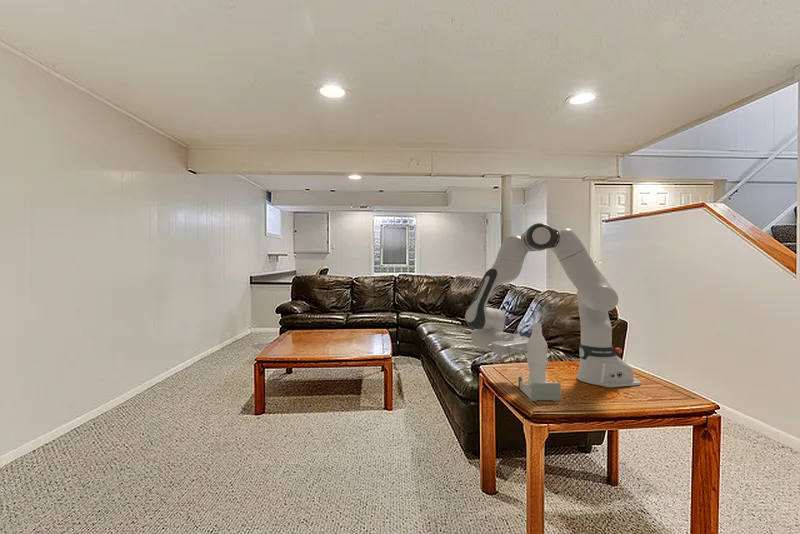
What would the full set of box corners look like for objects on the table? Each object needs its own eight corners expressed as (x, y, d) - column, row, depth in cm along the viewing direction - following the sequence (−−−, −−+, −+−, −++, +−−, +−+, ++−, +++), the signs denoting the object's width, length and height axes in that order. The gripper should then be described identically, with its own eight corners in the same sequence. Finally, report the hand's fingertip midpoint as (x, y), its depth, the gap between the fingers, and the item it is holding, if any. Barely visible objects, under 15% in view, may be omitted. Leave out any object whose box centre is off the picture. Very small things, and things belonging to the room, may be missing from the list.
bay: (544, 387, 141) (544, 371, 141) (560, 400, 127) (560, 383, 127) (518, 387, 141) (518, 371, 141) (532, 400, 127) (532, 383, 126)
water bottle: (528, 394, 133) (528, 324, 133) (525, 387, 140) (525, 321, 140) (549, 395, 132) (549, 325, 131) (545, 388, 139) (545, 322, 139)
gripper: (483, 338, 145) (510, 344, 133) (520, 333, 156) (548, 338, 144) (483, 354, 145) (510, 362, 133) (520, 348, 156) (548, 355, 144)
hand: (530, 350), depth 139 cm, fingers open, 8 cm apart
